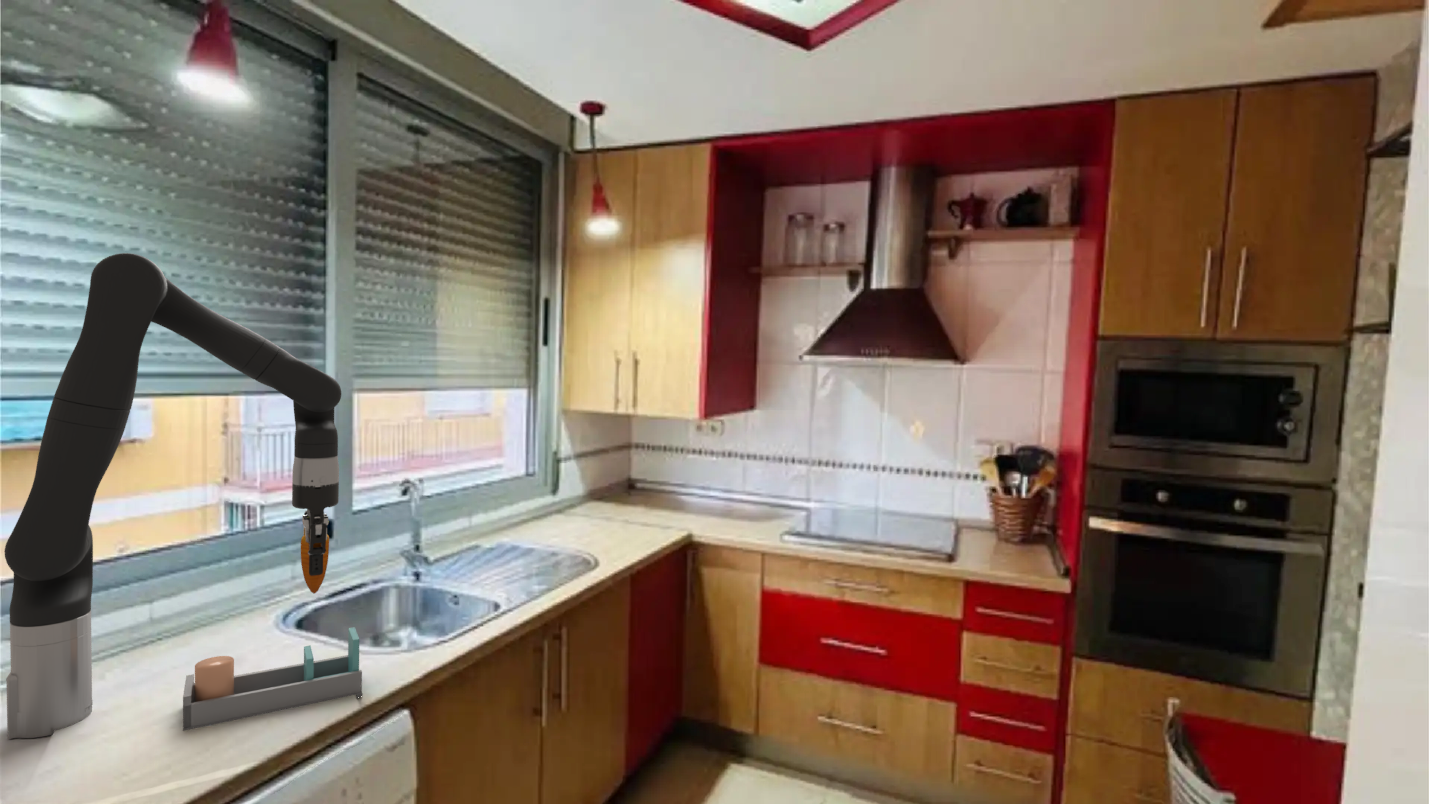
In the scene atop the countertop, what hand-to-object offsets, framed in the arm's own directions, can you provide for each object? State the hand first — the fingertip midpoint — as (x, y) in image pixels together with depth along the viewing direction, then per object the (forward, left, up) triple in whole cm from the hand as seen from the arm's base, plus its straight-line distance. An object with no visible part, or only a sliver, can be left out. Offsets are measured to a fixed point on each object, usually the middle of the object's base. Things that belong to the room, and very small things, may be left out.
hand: (314, 570), depth 131 cm
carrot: (0, 0, -5) cm, 5 cm away
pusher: (+2, -11, -18) cm, 21 cm away
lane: (-6, -11, -19) cm, 23 cm away
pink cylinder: (-15, -11, -18) cm, 26 cm away
